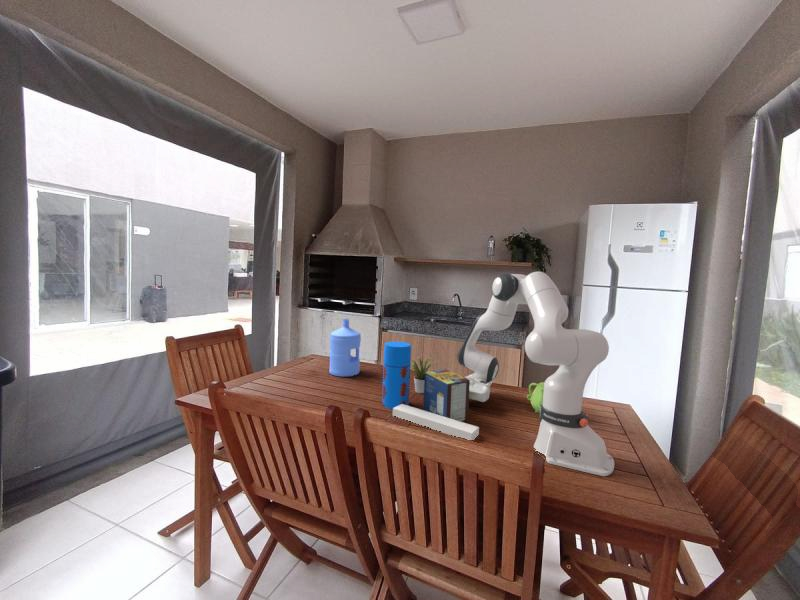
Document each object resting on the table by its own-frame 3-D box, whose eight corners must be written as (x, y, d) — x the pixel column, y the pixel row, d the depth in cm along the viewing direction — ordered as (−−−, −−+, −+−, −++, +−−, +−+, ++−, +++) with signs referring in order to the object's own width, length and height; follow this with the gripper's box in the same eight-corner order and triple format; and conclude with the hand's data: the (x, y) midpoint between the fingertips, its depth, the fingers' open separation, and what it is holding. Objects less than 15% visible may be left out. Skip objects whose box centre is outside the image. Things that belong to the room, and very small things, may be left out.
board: (478, 435, 124) (479, 427, 124) (471, 442, 119) (471, 433, 119) (401, 411, 142) (402, 403, 142) (392, 415, 137) (392, 408, 137)
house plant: (438, 386, 174) (439, 353, 172) (440, 397, 160) (442, 360, 158) (408, 385, 174) (409, 351, 173) (408, 395, 160) (409, 359, 159)
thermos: (377, 401, 151) (380, 342, 149) (400, 398, 156) (403, 340, 154) (389, 411, 142) (391, 348, 140) (413, 407, 147) (416, 346, 144)
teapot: (576, 421, 140) (579, 389, 139) (539, 420, 139) (542, 388, 138) (556, 405, 156) (559, 376, 155) (523, 404, 155) (526, 375, 154)
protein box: (444, 405, 149) (445, 368, 148) (468, 420, 136) (470, 379, 134) (422, 410, 144) (424, 371, 143) (445, 425, 131) (447, 383, 129)
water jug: (327, 377, 182) (328, 321, 179) (331, 368, 197) (332, 317, 195) (359, 377, 183) (360, 322, 181) (360, 368, 199) (361, 317, 196)
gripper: (449, 374, 161) (432, 381, 150) (493, 384, 149) (479, 393, 138) (448, 387, 162) (432, 396, 151) (492, 399, 150) (478, 409, 139)
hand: (454, 395), depth 144 cm, fingers closed
